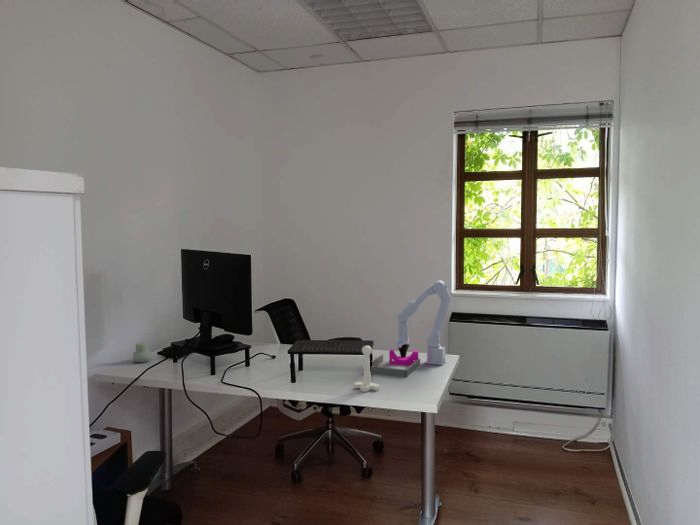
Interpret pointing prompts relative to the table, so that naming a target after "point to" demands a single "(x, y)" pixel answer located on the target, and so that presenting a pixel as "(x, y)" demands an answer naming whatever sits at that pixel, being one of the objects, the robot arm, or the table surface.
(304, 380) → the table surface
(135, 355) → the air freshener
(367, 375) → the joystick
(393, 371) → the grey tray
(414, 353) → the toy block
